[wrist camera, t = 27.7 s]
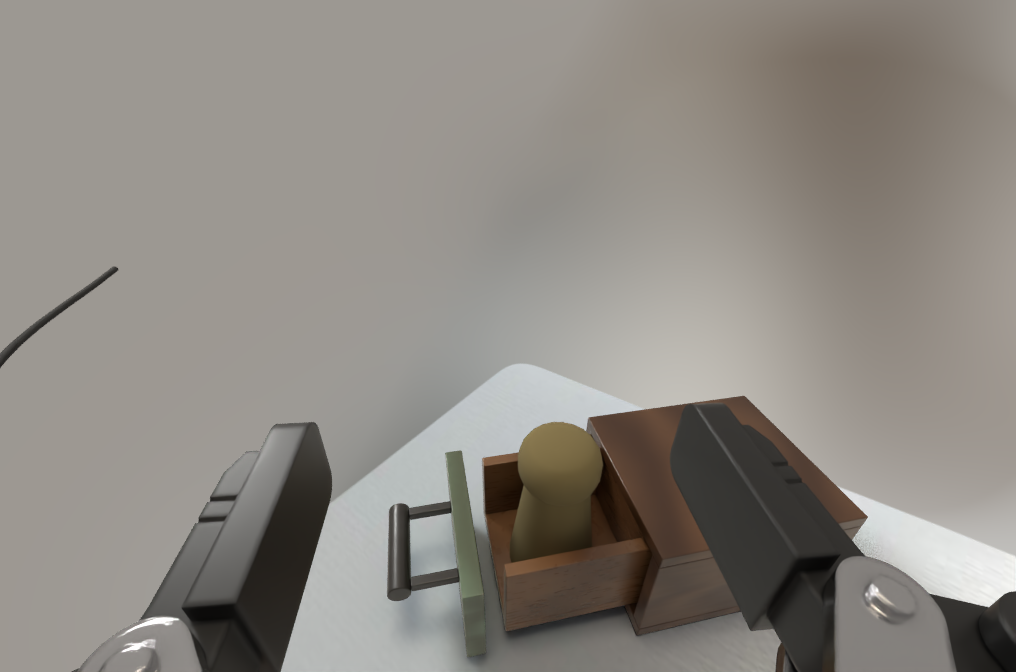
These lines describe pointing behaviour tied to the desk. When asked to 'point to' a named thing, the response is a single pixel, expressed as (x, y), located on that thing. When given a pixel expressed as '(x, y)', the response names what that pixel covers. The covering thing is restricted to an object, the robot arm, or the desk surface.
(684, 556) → the cabinet
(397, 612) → the desk surface
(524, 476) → the olive peg doll
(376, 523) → the desk surface
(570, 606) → the drawer
